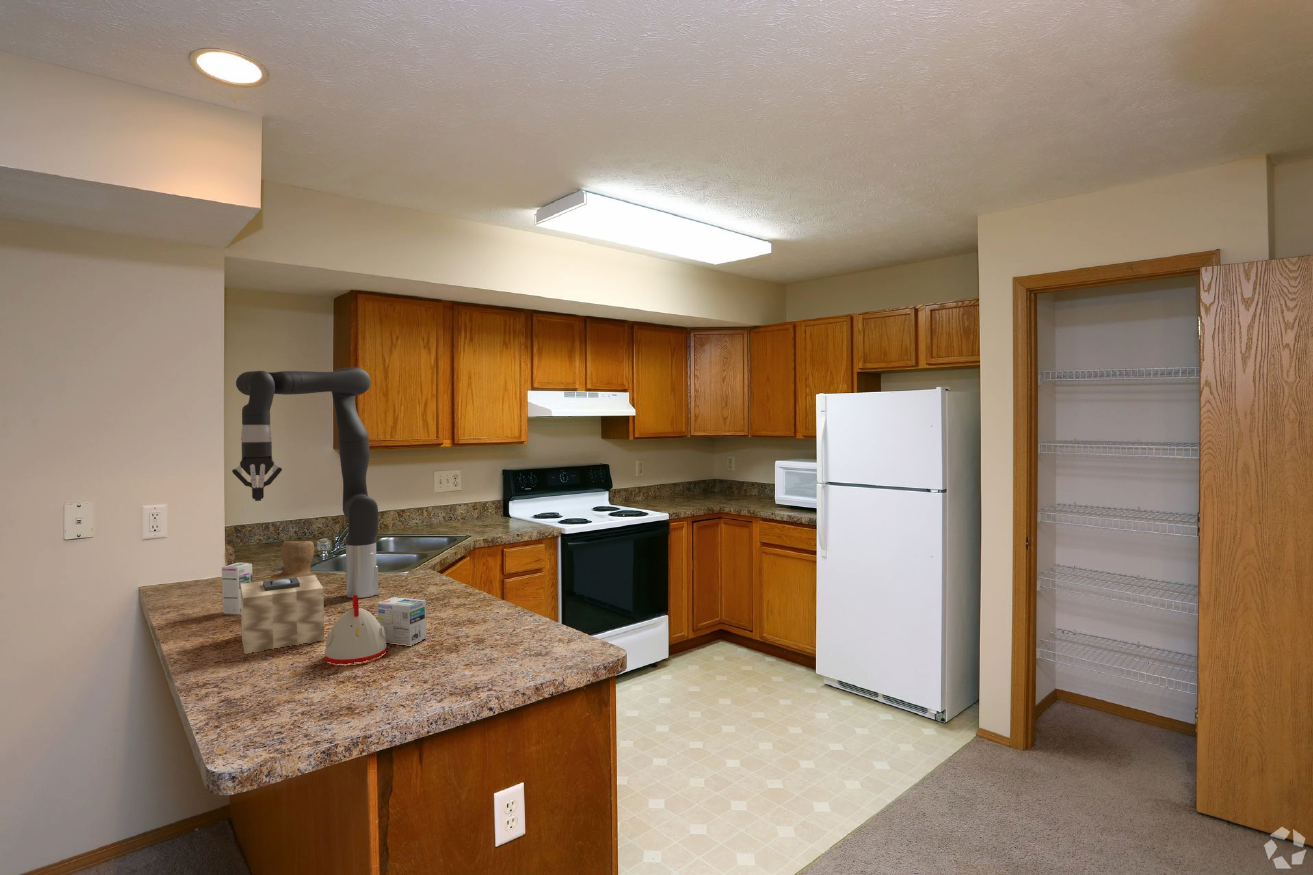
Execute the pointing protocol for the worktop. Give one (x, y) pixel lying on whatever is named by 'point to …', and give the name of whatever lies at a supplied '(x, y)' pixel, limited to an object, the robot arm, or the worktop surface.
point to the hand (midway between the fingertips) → (257, 500)
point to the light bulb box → (403, 620)
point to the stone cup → (296, 559)
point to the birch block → (281, 615)
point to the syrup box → (234, 585)
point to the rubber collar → (292, 584)
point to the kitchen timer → (355, 637)
